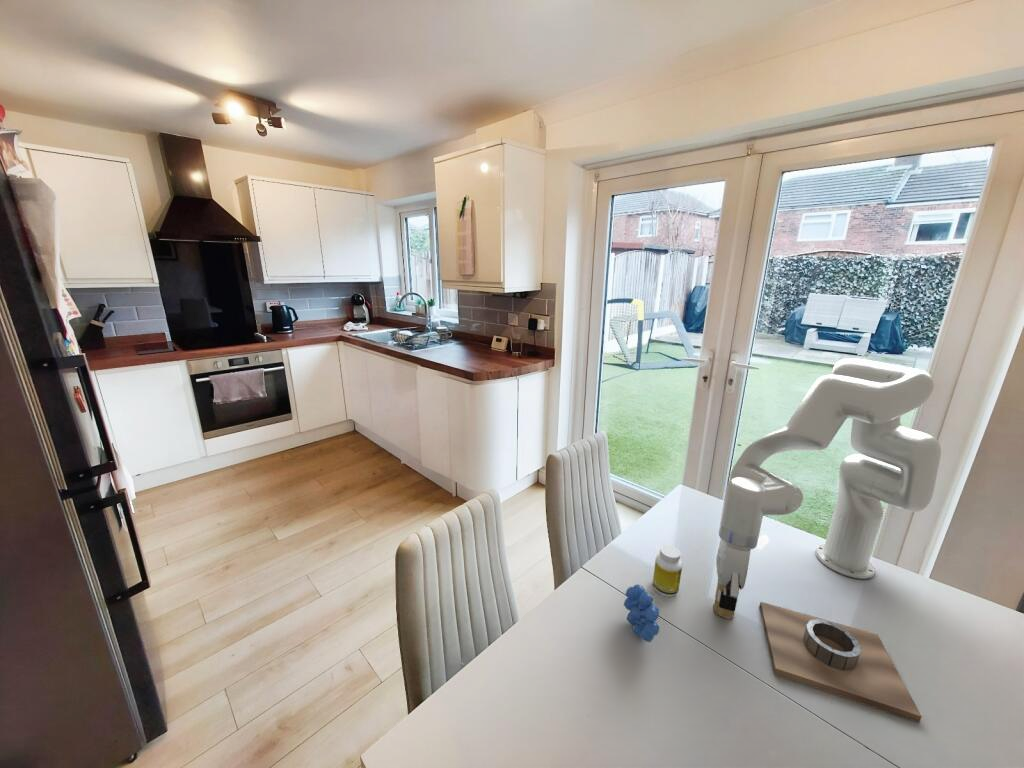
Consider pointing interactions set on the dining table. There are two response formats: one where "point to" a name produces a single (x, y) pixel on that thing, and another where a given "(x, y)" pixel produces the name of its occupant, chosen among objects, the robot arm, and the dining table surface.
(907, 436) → the robot arm
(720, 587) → the sprinkles bottle
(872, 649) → the socket board
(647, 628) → the grapes
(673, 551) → the pill bottle
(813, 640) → the collar
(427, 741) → the dining table surface
